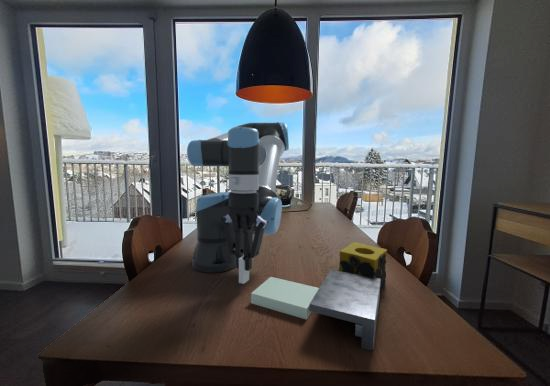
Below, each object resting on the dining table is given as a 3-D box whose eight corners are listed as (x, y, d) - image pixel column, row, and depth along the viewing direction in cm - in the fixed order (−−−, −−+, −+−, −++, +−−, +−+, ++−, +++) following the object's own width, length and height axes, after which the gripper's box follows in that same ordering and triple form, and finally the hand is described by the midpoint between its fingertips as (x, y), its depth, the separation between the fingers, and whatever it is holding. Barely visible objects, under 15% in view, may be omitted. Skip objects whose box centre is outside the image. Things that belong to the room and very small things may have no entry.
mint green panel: (251, 305, 62) (251, 293, 62) (270, 287, 71) (270, 276, 71) (306, 321, 56) (307, 308, 56) (320, 299, 65) (320, 288, 65)
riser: (308, 332, 52) (309, 303, 51) (329, 291, 68) (330, 269, 67) (372, 351, 47) (374, 320, 46) (379, 302, 63) (380, 278, 62)
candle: (351, 273, 79) (353, 241, 78) (386, 283, 73) (388, 248, 72) (336, 285, 72) (338, 250, 70) (373, 297, 65) (376, 259, 64)
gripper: (213, 191, 65) (214, 282, 67) (259, 194, 59) (259, 293, 62) (230, 188, 71) (231, 271, 74) (273, 191, 66) (272, 280, 69)
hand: (244, 281), depth 68 cm, fingers closed
